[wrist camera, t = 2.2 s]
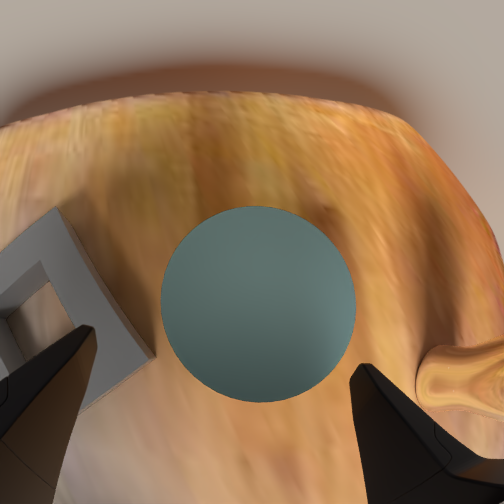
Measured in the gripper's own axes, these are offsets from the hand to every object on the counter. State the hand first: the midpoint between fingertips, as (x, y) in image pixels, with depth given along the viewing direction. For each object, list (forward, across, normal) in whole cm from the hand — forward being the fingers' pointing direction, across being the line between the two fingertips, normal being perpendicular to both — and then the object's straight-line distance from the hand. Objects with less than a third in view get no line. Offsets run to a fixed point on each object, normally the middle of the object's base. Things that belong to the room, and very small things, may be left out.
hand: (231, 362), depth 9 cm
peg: (+7, 0, +6) cm, 9 cm away
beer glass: (+6, -19, +8) cm, 21 cm away
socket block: (+6, +11, +7) cm, 14 cm away
